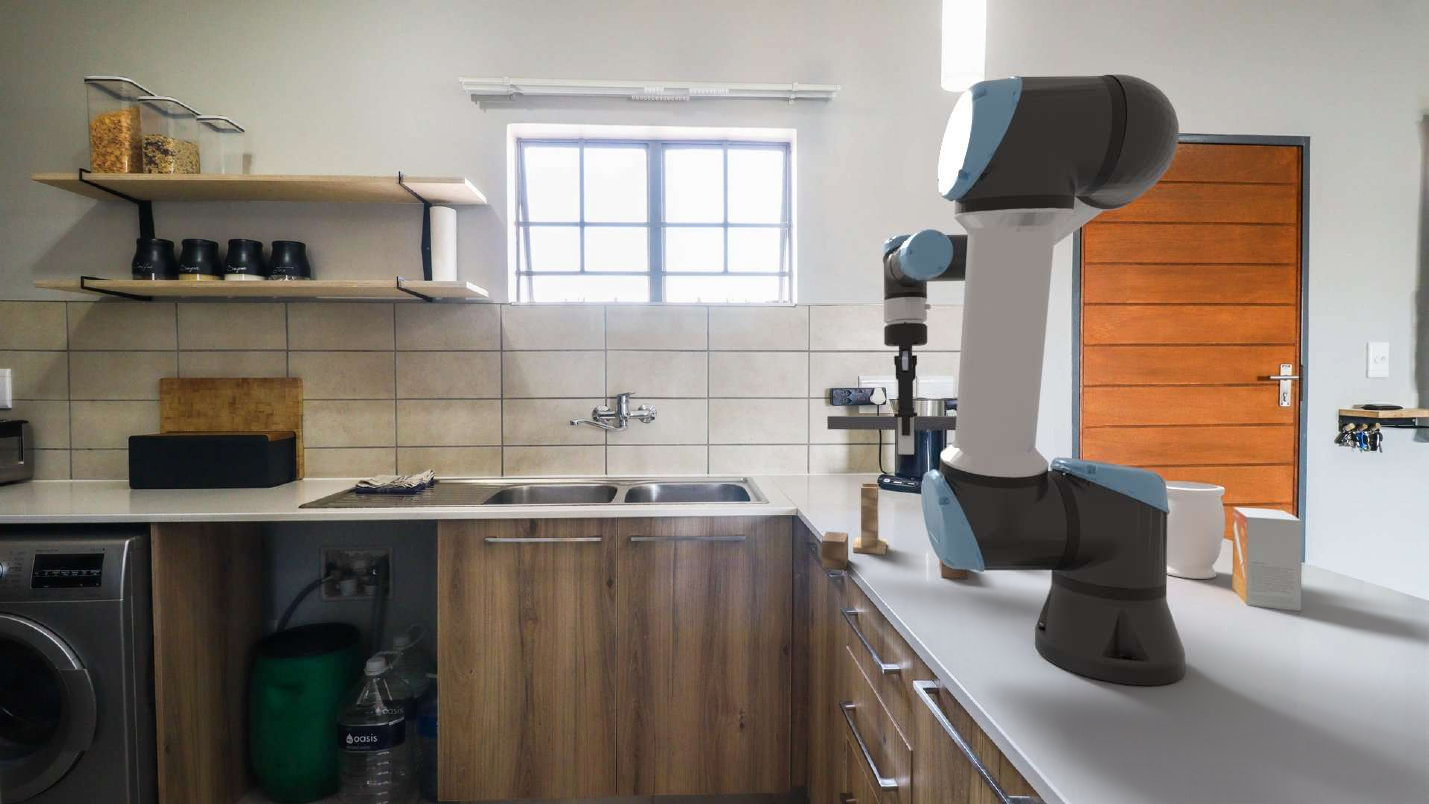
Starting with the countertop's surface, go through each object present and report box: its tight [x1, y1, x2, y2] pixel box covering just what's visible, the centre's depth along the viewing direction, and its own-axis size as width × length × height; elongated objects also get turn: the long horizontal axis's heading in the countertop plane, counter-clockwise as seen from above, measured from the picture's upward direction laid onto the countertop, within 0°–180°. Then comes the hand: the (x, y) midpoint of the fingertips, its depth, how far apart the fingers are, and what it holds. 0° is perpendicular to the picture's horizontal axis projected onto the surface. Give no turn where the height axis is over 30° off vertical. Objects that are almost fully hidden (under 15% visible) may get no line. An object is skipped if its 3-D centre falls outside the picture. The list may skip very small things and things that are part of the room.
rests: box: [821, 531, 968, 580], centre depth 113 cm, size 24×7×5 cm, turn 73°
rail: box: [826, 415, 956, 431], centre depth 117 cm, size 28×3×2 cm, turn 72°
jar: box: [1164, 480, 1226, 580], centre depth 109 cm, size 11×10×15 cm
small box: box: [1231, 506, 1303, 612], centre depth 95 cm, size 8×6×13 cm
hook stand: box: [852, 482, 887, 555], centre depth 124 cm, size 27×8×12 cm, turn 73°
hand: (906, 452), depth 117 cm, fingers closed on rail, 3 cm apart
